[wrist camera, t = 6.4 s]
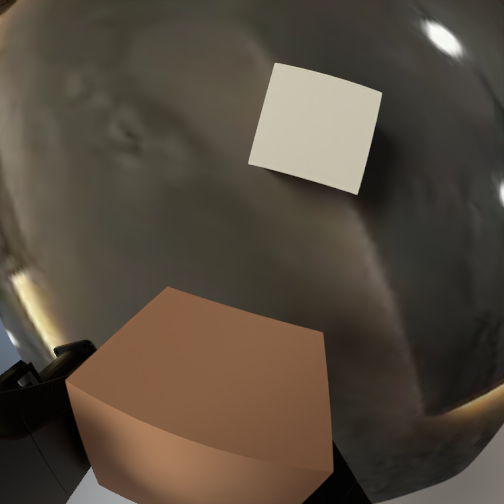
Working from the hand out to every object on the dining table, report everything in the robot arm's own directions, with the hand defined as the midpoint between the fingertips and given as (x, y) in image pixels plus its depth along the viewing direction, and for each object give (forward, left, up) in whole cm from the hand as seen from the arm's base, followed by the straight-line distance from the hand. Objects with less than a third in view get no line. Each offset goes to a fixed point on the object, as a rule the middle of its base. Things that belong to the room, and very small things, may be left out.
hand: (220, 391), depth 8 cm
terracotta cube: (0, 0, -1) cm, 1 cm away
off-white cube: (+6, +7, -11) cm, 14 cm away
